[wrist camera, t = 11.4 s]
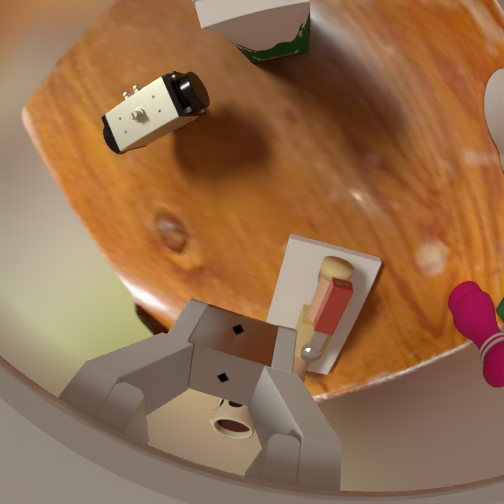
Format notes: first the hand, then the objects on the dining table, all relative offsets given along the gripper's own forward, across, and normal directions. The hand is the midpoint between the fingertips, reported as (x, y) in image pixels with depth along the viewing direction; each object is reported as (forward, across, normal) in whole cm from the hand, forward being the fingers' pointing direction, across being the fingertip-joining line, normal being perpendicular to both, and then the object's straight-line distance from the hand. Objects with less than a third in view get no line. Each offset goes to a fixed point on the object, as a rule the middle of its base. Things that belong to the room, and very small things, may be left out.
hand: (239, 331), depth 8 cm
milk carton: (+31, +7, -16) cm, 36 cm away
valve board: (+31, -9, +21) cm, 38 cm away
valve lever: (+23, -9, +16) cm, 29 cm away
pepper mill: (+31, -32, +11) cm, 46 cm away
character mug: (+31, -2, +39) cm, 50 cm away
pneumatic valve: (+31, +16, -4) cm, 35 cm away
